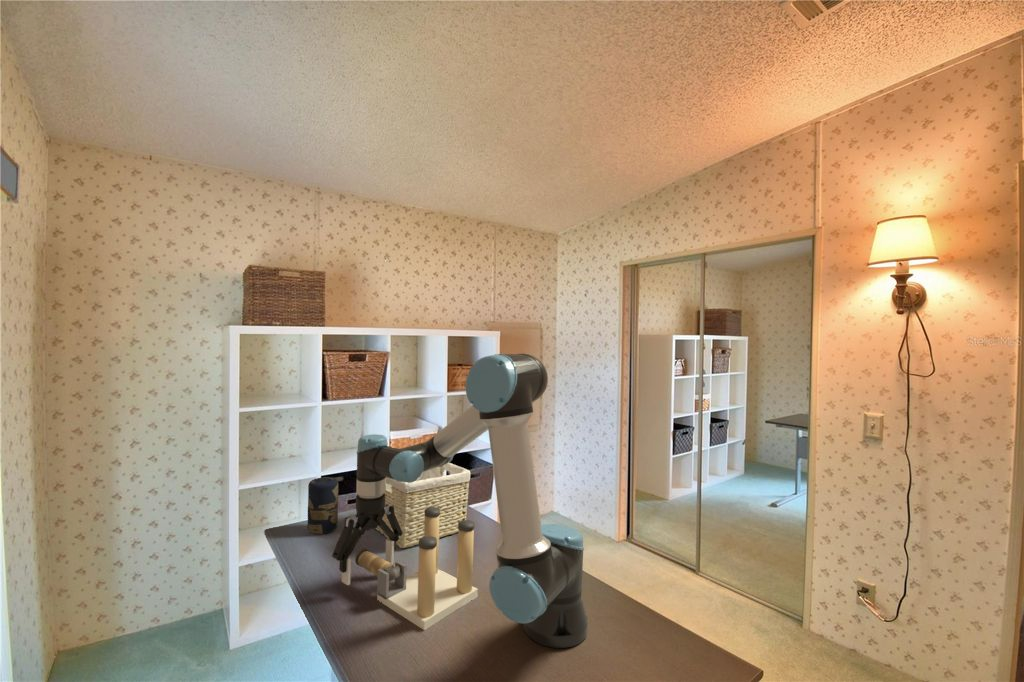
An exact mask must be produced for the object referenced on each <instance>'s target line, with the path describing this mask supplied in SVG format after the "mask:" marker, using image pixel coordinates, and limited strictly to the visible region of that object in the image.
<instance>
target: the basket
mask: <svg viewBox="0 0 1024 682" xmlns="http://www.w3.org/2000/svg"><path fill="white" fill-rule="evenodd" d="M445 471H446V472H449V475H447V474H446V475H445V474H444V472H445ZM470 481H471V471H470V470H469V469H467V468H464V467H462V466H459V465H456V464H455V463H454V464H453V463H451V462H449V463H447V464H445V465H443V466H441V467H436V468H433V469H430V470H427V471H424V472H422V474H421V476H420V477H418V479H417V480H416V481H414V482H411V483H407V482H400V481H397V480H394V479H391V478H388V477H386V491H385V506H386V505H387V504H388V505H391V506H393V507H394V514H395V516H396V519H397V521H398V523H399V526H400V528H401V530H402V535H401V536H398V537H399V540H398V541H396V546H397V547H399V549H404V548H411V547H413V546H416V545H419V539H420V538H422V537H424V529H425V509H426V508H430V507H436V508H439V509H440V518H439V539H440V538H443V537H446V536H448V535H454V534H456V533H458V523H459V522H460V521H463V520H467V508H468V503H469V501H468V499H469V488H470ZM382 519H383V520H384V522H385V523H386V525H387V526H388V527H389V528H390V529H391V530H392V527H391V525H390V523H389V520H388V518H387V516H386V514H384V516H383V518H382ZM374 530H377V532H380V533H381V535H383V536H384V537H386V539H389V537H388V536H387V535H386V534H385V533H384V532H383V530H382V529H381V528H380V527H379V526H377V528H374ZM392 531H393V530H392Z"/></svg>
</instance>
